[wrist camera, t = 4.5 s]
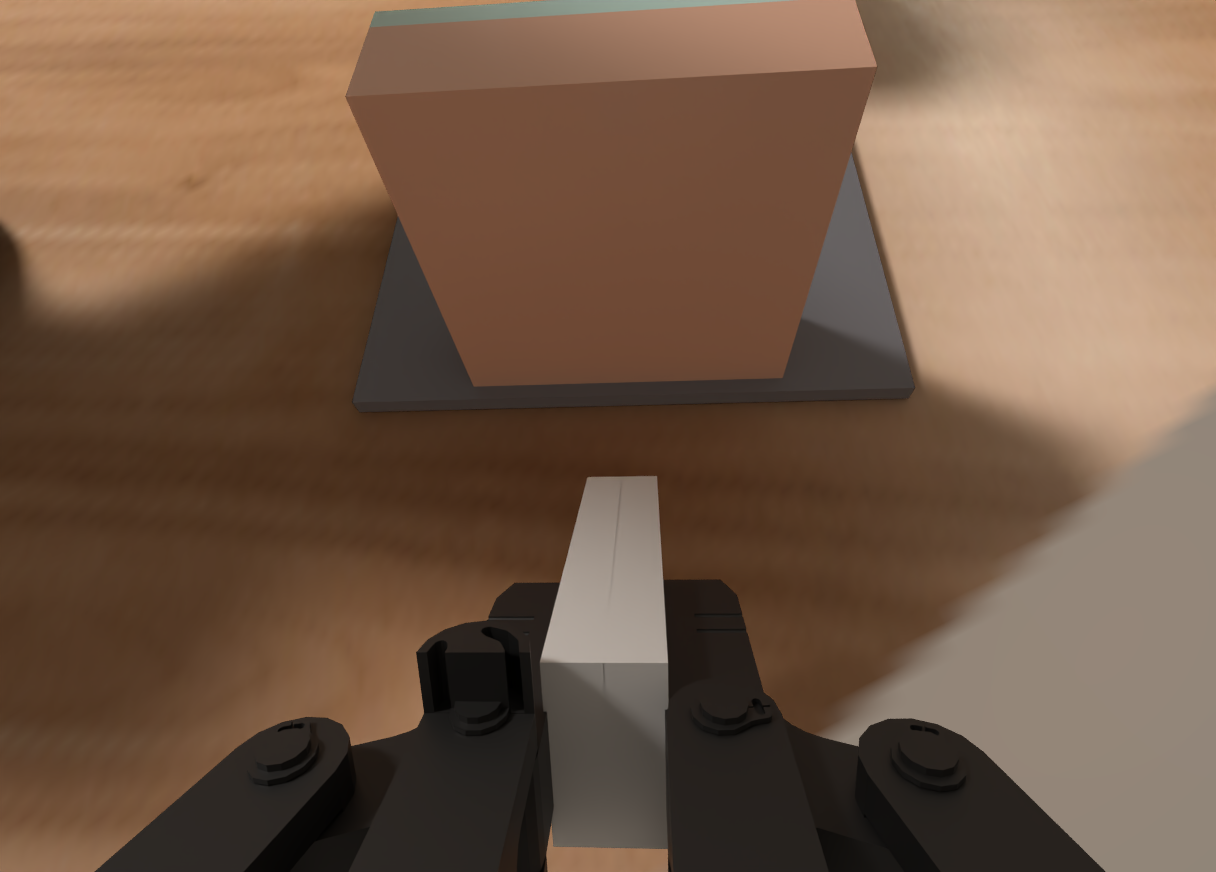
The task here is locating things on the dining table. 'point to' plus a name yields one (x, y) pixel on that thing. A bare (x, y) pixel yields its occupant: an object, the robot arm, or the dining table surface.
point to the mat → (816, 370)
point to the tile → (616, 176)
